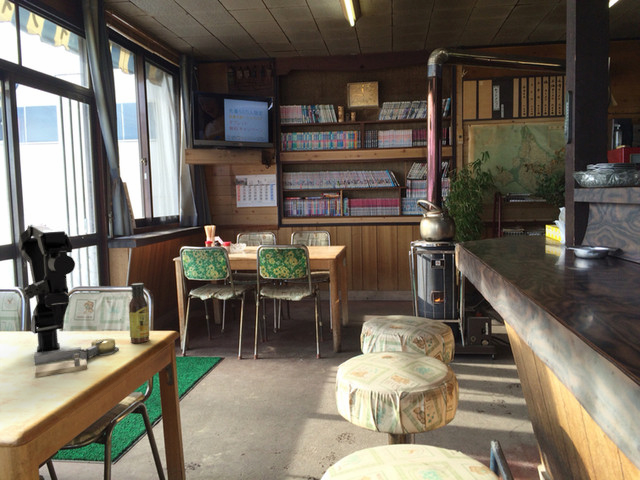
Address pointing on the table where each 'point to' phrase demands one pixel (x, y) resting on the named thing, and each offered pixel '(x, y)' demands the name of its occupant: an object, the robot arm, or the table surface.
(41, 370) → the cradle
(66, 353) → the grey bar
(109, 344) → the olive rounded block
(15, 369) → the table surface
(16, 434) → the table surface
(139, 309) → the sauce bottle
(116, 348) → the nut base
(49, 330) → the robot arm
